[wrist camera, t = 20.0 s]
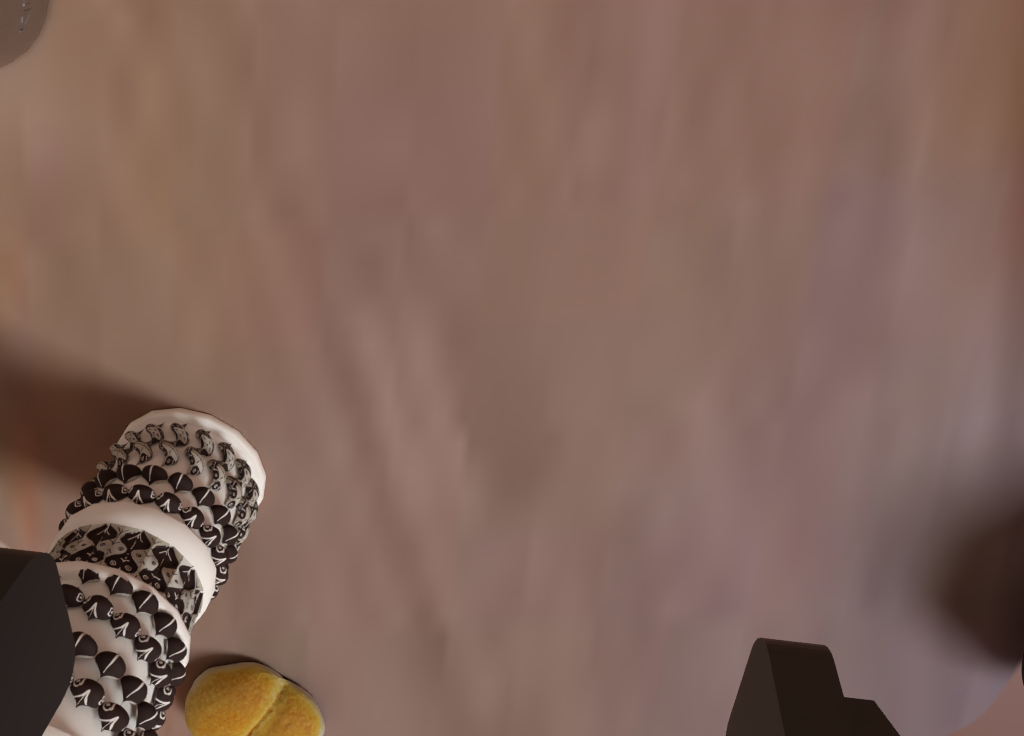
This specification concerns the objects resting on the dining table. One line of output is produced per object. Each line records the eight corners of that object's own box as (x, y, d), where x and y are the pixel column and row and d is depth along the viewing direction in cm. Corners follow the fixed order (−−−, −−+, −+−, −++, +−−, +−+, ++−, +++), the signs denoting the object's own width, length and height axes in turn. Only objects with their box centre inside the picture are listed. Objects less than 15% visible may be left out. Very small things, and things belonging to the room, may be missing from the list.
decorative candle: (95, 496, 55) (-219, 951, 34) (129, 376, 50) (-212, 817, 29) (246, 553, 56) (36, 1022, 35) (292, 441, 51) (82, 905, 30)
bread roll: (232, 637, 61) (211, 688, 57) (345, 704, 63) (332, 756, 60) (168, 697, 64) (145, 749, 61) (278, 758, 67) (262, 810, 63)
